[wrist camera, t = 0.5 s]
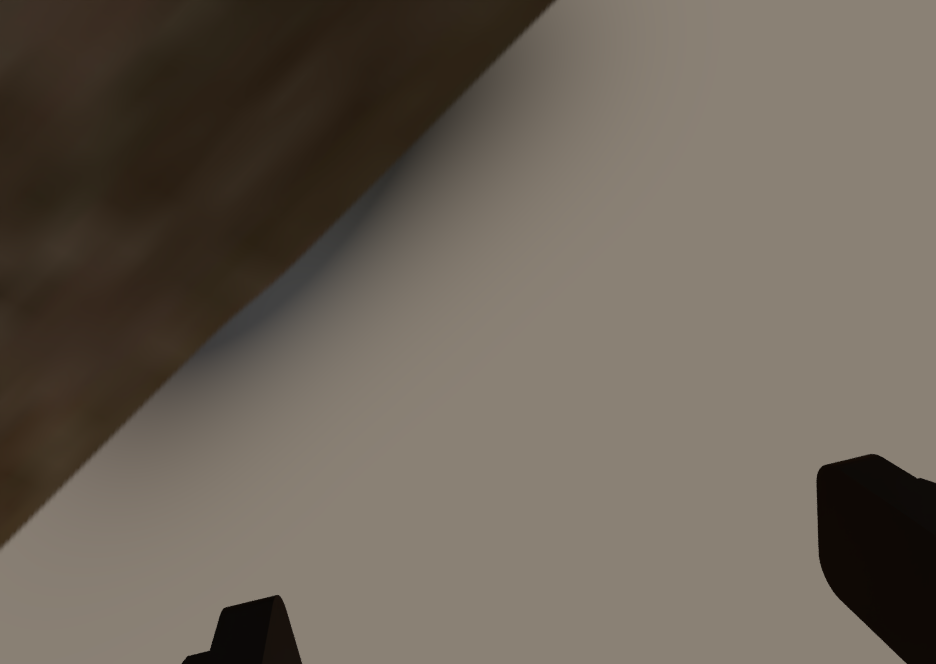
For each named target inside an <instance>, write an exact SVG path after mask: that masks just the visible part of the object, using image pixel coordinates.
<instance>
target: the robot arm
mask: <svg viewBox="0 0 936 664" xmlns="http://www.w3.org/2000/svg"><path fill="white" fill-rule="evenodd" d="M817 515H818V545H819V546H818V547H819V559H820V564H821V568H822V571H823V573H824V576H825V578H826V580H827V582H828V584H829V586H830V587H831V589H832V590H833V592H834V593H835V594H836V596H837V597H838V598H839V599H840V600H841V601H842V602H843V603H844V604H845V605H846V606H847V607H848V608H849V609H850V610H852V612H854V613H855V614H856V615H857V616H858V617H859V618H860V619H861V620H862V621H863V622H864V623H865V624H866V625H867V626H868V627H869V628H870V629H871V630H872V631H873V632H874V633H875V634H877V636H879V637H880V638H881V639H882V640H883V641H884V642H885V643H886V644H887V645H888V646H889V647H890V648H891V649H892V650H893V651H894V652H895V653H896V654H897V655H898V656H899V657H900V658H902V660H903V661H905V662H906V663H907V664H936V483H934V482H931V481H928V480H925V479H922V478H918V479H917V478H916V477H914V476H912V475H911V474H909V473H907V472H906V471H904V470H902V469H901V468H899V467H897V466H896V465H894V464H893V463H891V462H889V461H888V460H886V459H884V458H883V457H881V456H879V455H875V454H869V455H865V456H861V457H856V458H852V459H848V460H844V461H840V462H835V463H831V464H827V465H824V466H822V467H821V468H820V469H819V471H818V474H817ZM182 664H302V662H301V658H300V655H299V651H298V648H297V645H296V641H295V638H294V634H293V631H292V628H291V624H290V621H289V617H288V614H287V611H286V608H285V605H284V602H283V600H282V598H281V597H280V596H279V595H275V596H271V597H267V598H263V599H259V600H255V601H250V602H246V603H242V604H238V605H234V606H230V607H226V608H224V609H223V610H222V612H221V614H220V617H219V621H218V624H217V628H216V631H215V634H214V638H213V641H212V645H211V648H210V651H207V652H203V653H199V654H195V655H191V656H187V657H186V659H185V660H184V661H183V663H182Z"/></svg>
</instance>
